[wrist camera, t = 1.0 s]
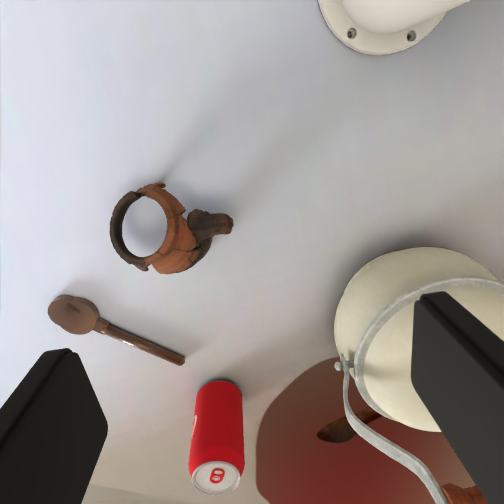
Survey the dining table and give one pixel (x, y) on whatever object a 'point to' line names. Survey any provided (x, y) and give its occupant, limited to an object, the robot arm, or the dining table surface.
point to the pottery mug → (170, 232)
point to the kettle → (406, 341)
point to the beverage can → (217, 439)
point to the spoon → (99, 325)
